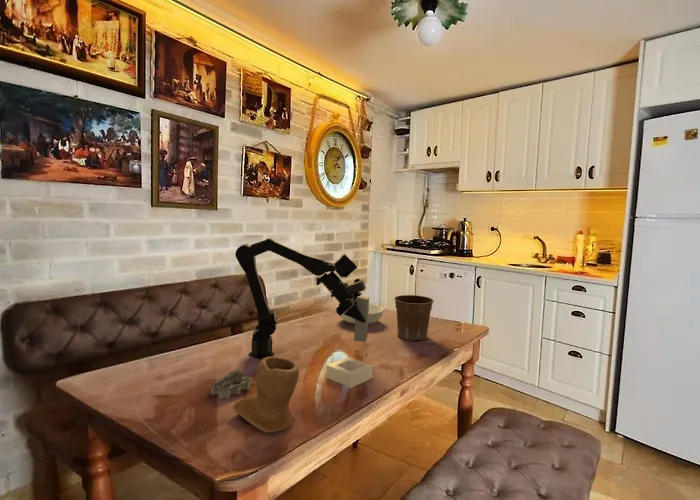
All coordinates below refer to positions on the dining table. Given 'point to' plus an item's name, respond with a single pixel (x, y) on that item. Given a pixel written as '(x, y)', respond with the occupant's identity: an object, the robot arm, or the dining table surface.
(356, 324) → the post
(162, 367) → the dining table surface
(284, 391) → the tan boot
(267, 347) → the robot arm
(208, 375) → the dining table surface
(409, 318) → the plant pot
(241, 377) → the egg carton
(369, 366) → the collar
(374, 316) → the serving bowl
